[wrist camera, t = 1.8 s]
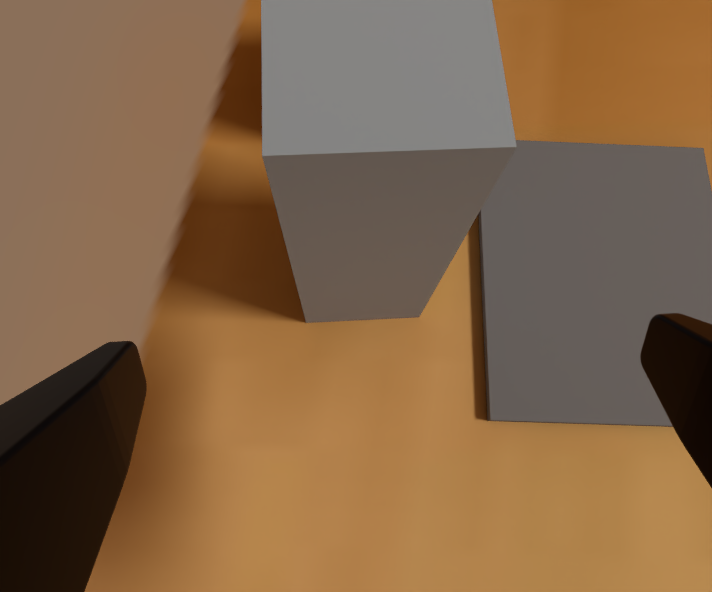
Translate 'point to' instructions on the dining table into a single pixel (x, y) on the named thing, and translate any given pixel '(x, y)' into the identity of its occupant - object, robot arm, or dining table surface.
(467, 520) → the dining table surface
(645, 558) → the dining table surface
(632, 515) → the dining table surface
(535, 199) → the coaster
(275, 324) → the dining table surface
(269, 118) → the slate block
